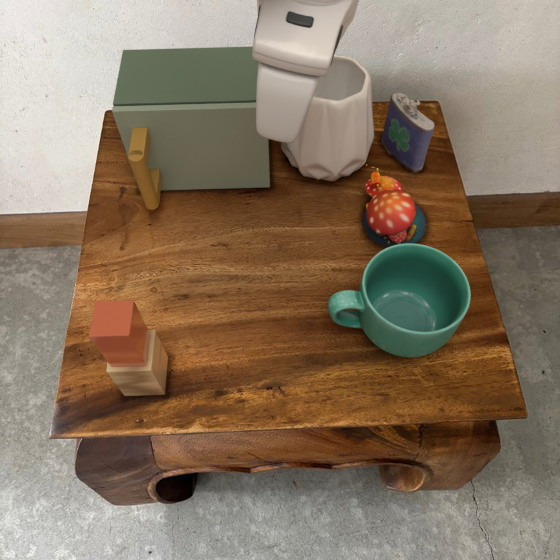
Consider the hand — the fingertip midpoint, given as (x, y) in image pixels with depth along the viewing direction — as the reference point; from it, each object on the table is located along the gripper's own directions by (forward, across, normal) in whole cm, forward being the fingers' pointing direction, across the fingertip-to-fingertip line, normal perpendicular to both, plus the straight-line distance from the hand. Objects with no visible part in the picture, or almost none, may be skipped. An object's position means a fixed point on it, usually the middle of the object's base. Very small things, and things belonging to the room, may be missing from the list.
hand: (287, 102), depth 59 cm
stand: (+24, +26, -10) cm, 37 cm away
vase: (+24, -15, +7) cm, 29 cm away
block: (+16, +26, -11) cm, 32 cm away
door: (+26, -2, -10) cm, 28 cm away
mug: (+21, +13, +19) cm, 31 cm away
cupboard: (+27, -11, -12) cm, 31 cm away
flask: (+23, -17, +19) cm, 34 cm away
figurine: (+22, -3, +18) cm, 29 cm away
